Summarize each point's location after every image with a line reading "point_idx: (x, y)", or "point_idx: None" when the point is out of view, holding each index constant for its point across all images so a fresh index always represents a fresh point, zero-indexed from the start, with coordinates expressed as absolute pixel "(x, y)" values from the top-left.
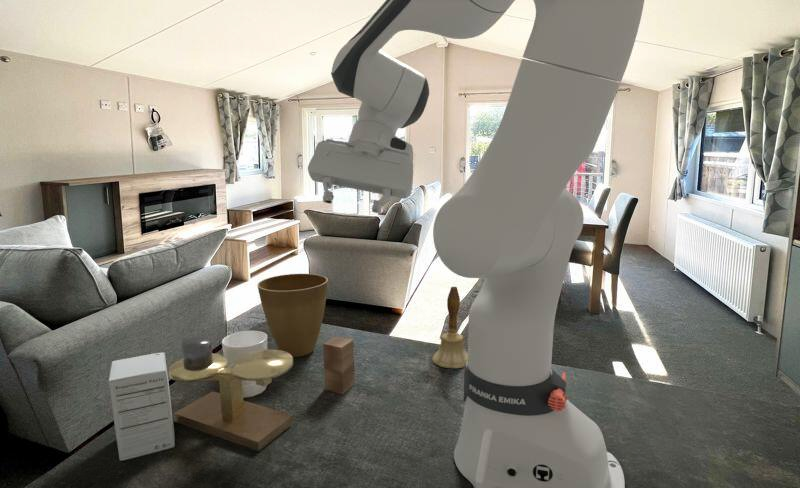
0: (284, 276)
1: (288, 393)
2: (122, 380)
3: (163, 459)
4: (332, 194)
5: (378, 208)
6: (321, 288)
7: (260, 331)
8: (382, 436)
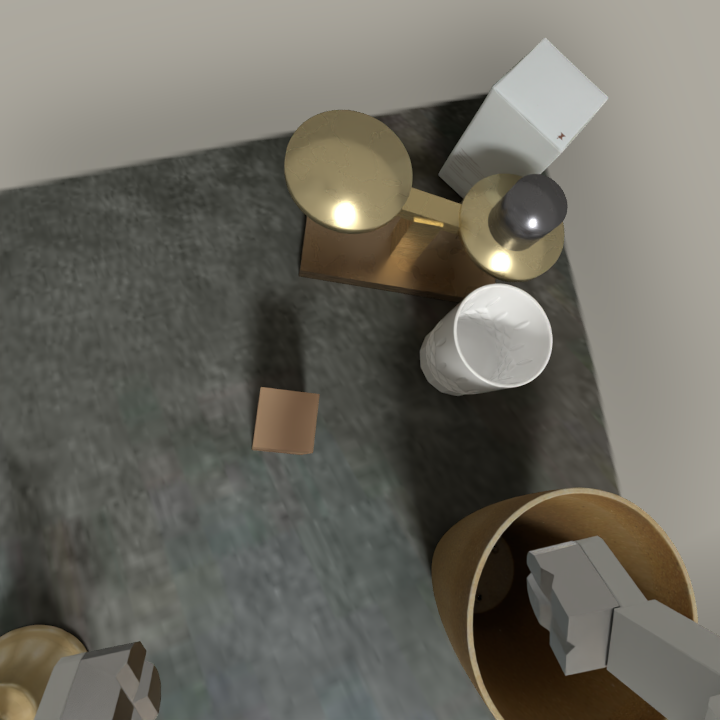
0: None
1: (369, 368)
2: (531, 50)
3: (429, 148)
4: (560, 620)
5: (69, 656)
6: (462, 612)
7: (500, 386)
8: (118, 283)
